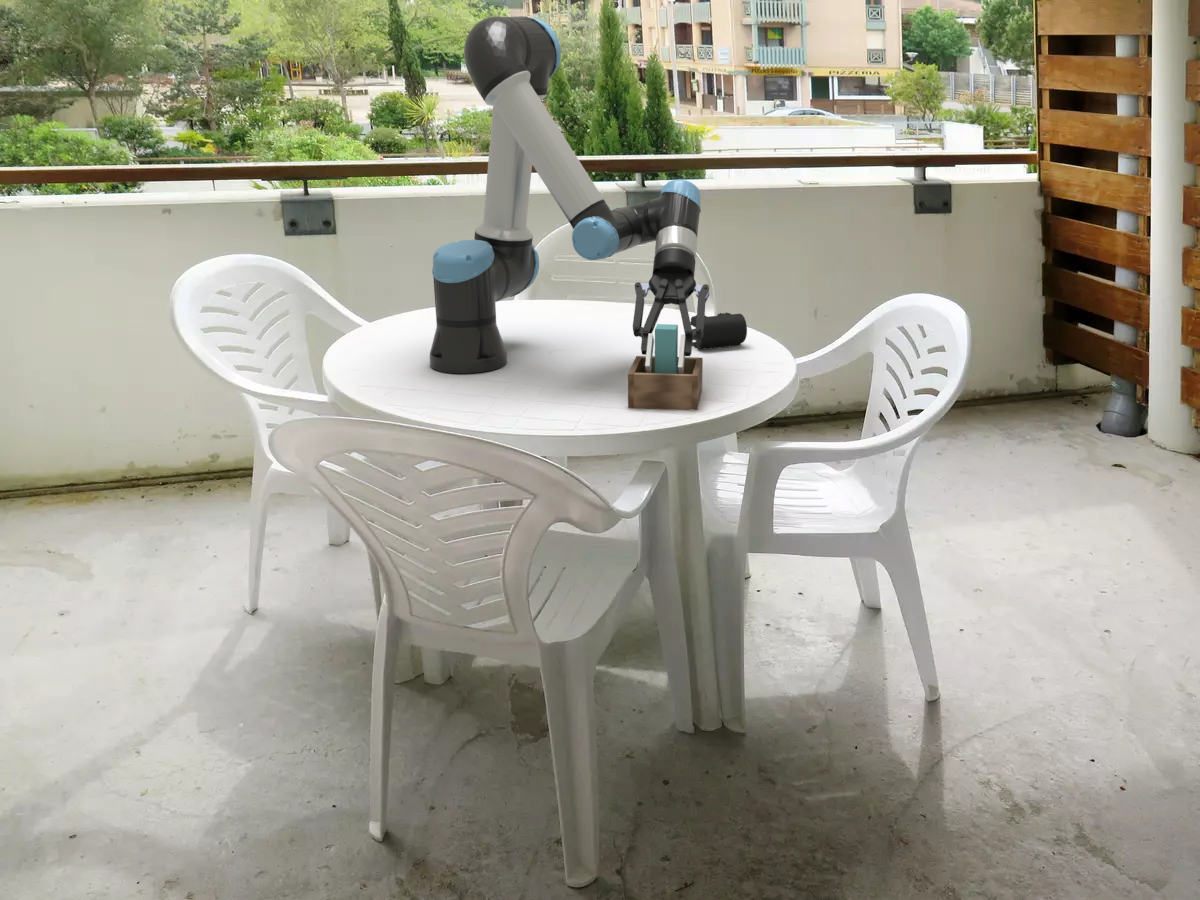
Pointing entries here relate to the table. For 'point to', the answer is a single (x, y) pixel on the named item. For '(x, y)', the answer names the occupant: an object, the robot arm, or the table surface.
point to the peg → (666, 349)
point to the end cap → (721, 331)
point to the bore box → (665, 386)
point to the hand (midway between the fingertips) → (664, 370)
